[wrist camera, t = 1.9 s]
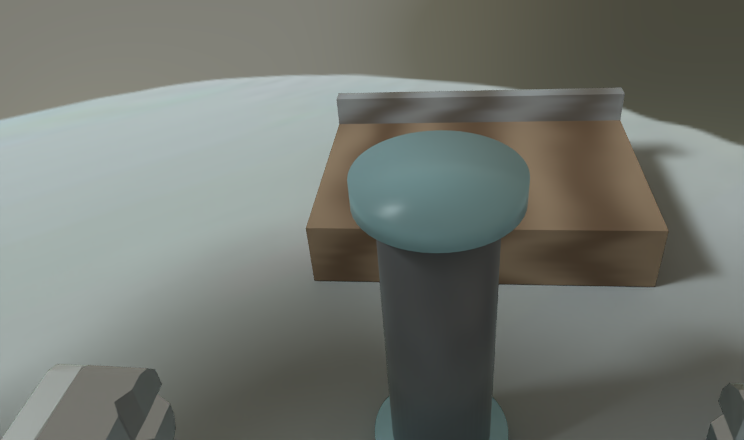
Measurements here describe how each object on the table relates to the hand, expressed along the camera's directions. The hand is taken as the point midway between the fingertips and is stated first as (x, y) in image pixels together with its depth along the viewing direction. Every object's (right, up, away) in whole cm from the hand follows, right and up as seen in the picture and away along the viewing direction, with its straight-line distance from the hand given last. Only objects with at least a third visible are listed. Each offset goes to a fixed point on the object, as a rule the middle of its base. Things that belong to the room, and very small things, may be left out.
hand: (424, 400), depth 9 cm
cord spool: (+2, -8, +20) cm, 22 cm away
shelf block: (+6, +3, +34) cm, 35 cm away
